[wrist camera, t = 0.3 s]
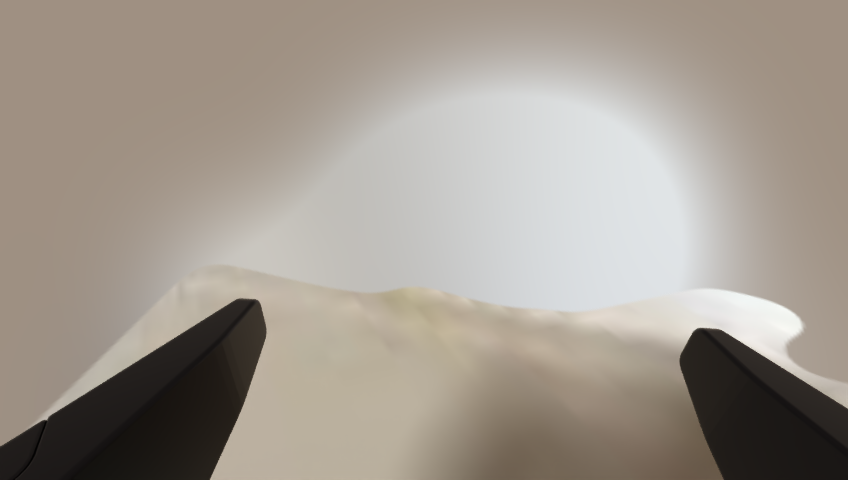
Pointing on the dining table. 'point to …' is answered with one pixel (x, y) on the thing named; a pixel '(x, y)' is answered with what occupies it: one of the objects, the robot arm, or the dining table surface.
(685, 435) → the dining table surface
